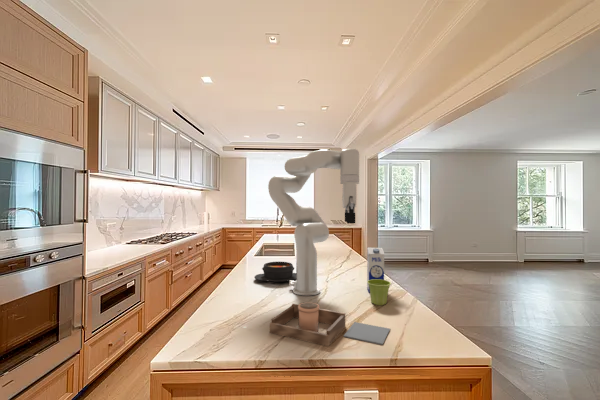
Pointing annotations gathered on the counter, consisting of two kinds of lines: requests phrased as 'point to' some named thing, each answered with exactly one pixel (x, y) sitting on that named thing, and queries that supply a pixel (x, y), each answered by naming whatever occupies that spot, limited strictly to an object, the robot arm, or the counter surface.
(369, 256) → the milk carton
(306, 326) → the terracotta pot
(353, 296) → the counter surface
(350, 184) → the robot arm
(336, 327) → the wooden tray
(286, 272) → the casserole
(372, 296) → the plant pot
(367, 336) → the mat
